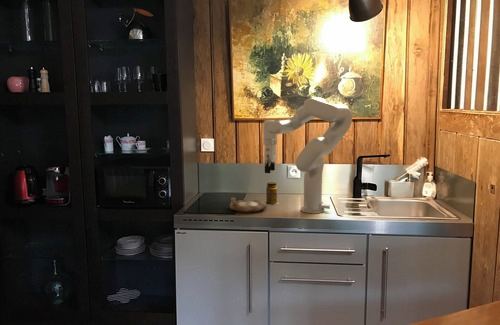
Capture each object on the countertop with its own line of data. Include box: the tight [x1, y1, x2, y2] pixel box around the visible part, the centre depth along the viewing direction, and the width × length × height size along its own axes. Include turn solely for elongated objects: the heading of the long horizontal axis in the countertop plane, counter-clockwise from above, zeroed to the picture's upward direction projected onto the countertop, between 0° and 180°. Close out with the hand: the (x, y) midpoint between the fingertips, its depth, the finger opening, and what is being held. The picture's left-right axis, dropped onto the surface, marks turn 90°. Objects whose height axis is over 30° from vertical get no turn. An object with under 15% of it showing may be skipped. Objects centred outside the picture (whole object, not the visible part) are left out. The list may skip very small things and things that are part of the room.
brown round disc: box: [229, 197, 268, 212], centre depth 227 cm, size 20×20×6 cm
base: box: [239, 211, 257, 213], centre depth 228 cm, size 12×12×1 cm
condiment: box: [264, 181, 280, 206], centre depth 241 cm, size 7×8×12 cm
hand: (269, 171), depth 239 cm, fingers open, 9 cm apart
